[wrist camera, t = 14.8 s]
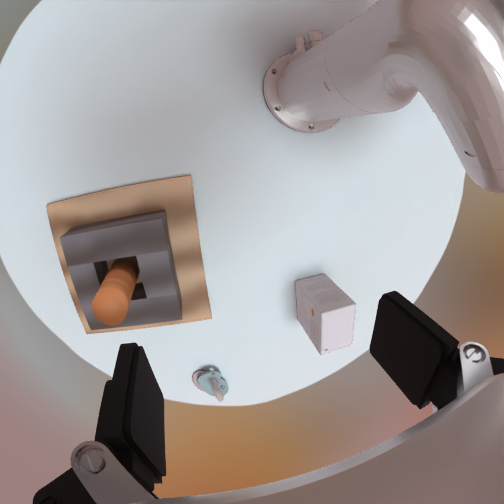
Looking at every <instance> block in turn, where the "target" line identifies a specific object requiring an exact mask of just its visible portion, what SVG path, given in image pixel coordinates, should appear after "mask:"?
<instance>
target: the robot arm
mask: <svg viewBox="0 0 504 504" xmlns="http://www.w3.org/2000/svg"><path fill="white" fill-rule="evenodd" d="M308 35H309V42H310V45H311V48H310V49H309V50H306V49H305V38H304V36H295V45H296V50H295V52H294V53H289V54H286V55H284V56H282V57H280V58H279V59H278V60H276V61H275V62H274V63H273V64H272V65H271V66H270V68H269V69H268V71H267V73H266V76H265V79H264V86H263V88H264V96H265V100H266V103H267V105H268V107H269V109H270V111H271V112H272V113H273V115H274V116H275V117H276V118H277V119H278V120H279V121H280V122H281V123H282V124H284V125H286V126H287V127H289V128H291V129H293V130H295V131H299V132H304V133H314V132H320V131H324V130H326V129H328V128H330V127H332V126H333V125H334V124H336V123H337V121H338V120H339V119H340V118H343V117H351V116H359V115H368V114H378V113H386V112H392V111H396V110H399V109H401V108H403V107H404V106H406V105H407V104H409V103H410V102H411V100H412V99H413V98H414V97H415V95H416V94H417V92H418V91H419V92H420V93H421V94H422V96H423V97H424V98H425V100H426V101H427V103H428V104H429V106H430V108H431V109H432V111H433V112H434V113H435V114H436V116H437V118H438V119H439V121H440V123H441V125H442V126H443V128H444V130H445V132H446V134H447V136H448V137H449V139H450V141H451V143H452V145H453V147H454V149H455V151H456V153H457V155H458V157H459V159H460V161H461V163H462V165H463V167H464V168H465V170H466V172H467V173H468V175H469V176H470V177H471V178H472V180H473V181H474V182H475V183H477V184H478V185H479V186H480V187H482V188H484V189H486V190H488V191H490V192H494V193H499V194H504V0H379V1H378V2H376V3H375V4H374V5H373V6H371V7H370V8H369V9H368V10H366V11H365V12H364V13H363V14H361V15H360V16H358V17H357V18H355V19H354V20H352V21H351V22H349V23H348V24H346V25H345V26H343V27H342V28H340V29H338V30H337V31H335V32H334V33H332V34H331V35H329V36H328V37H326V38H325V39H322V32H321V31H318V30H313V31H309V32H308ZM272 72H274V74H273V73H272ZM275 107H276V108H277V111H276V110H275ZM309 126H310V129H309ZM458 344H459V341H458V340H456V339H455V338H454V337H453V336H452V335H450V334H449V333H448V332H447V331H445V329H443V328H442V327H441V326H439V325H438V324H437V323H436V322H435V321H434V320H432V319H431V318H430V317H429V316H427V315H426V314H425V313H424V312H422V311H421V310H420V309H419V308H417V307H416V306H415V305H414V304H412V303H411V302H410V301H409V300H407V299H406V298H405V297H403V296H402V295H401V294H400V293H398V292H397V291H392V292H389V293H385V294H383V295H382V297H381V299H380V300H379V303H378V309H377V315H376V320H375V325H374V330H373V335H372V339H371V344H370V353H371V354H372V356H373V357H374V358H375V359H376V361H377V362H378V363H379V364H380V365H381V367H382V368H383V369H384V370H385V371H386V373H387V374H388V375H389V376H390V377H391V379H392V380H393V381H394V382H395V383H396V385H397V386H398V387H399V388H400V389H401V391H402V392H403V393H404V394H405V395H406V397H407V398H408V399H409V400H410V402H412V404H414V405H417V407H418V408H419V409H422V408H423V407H425V406H426V405H428V404H429V403H430V401H431V402H432V403H433V414H432V415H431V416H429V417H428V418H426V419H424V420H423V421H421V422H419V423H418V424H416V425H414V426H413V427H411V428H409V429H407V430H406V431H404V432H402V433H400V434H398V435H396V436H394V437H393V438H391V439H389V440H387V441H385V442H383V443H381V444H379V445H377V446H375V447H372V448H371V449H368V450H366V451H364V452H361V453H359V454H357V455H354V456H352V457H350V458H347V459H345V460H342V461H340V462H337V463H334V464H332V465H329V466H326V467H323V468H320V469H317V470H315V471H311V472H309V473H305V474H302V475H299V476H296V477H292V478H288V479H285V480H281V481H277V482H273V483H269V484H265V485H260V486H255V487H250V488H244V489H239V490H233V491H227V492H221V493H213V494H205V495H196V496H185V497H176V498H163V499H159V498H158V497H157V496H156V495H155V494H154V493H153V492H152V491H153V490H154V483H162V476H166V460H165V436H164V398H163V394H162V392H161V390H160V387H159V385H158V383H157V381H156V378H155V376H154V374H153V371H152V369H151V366H150V364H149V361H148V359H147V356H146V354H145V351H144V349H143V347H142V346H138V345H137V343H127V344H121V345H120V348H119V352H118V356H117V360H116V365H115V369H114V374H113V378H112V380H108V381H107V382H106V384H105V388H104V392H103V397H102V402H101V407H100V412H99V417H98V424H97V429H96V434H95V441H86V442H83V443H81V444H80V445H78V446H77V447H76V448H75V449H74V451H73V452H72V455H71V466H72V468H70V469H69V470H67V471H66V472H65V473H63V474H62V475H61V476H59V477H58V478H56V479H55V480H53V481H52V482H50V483H49V484H47V485H46V486H44V487H43V488H41V489H40V490H39V491H38V492H37V493H36V494H35V496H34V498H33V504H504V359H502V358H493V357H489V354H488V351H487V350H486V349H485V347H483V346H482V345H480V344H478V343H476V342H467V343H464V344H463V345H461V348H460V349H458V348H457V346H458Z"/></svg>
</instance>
